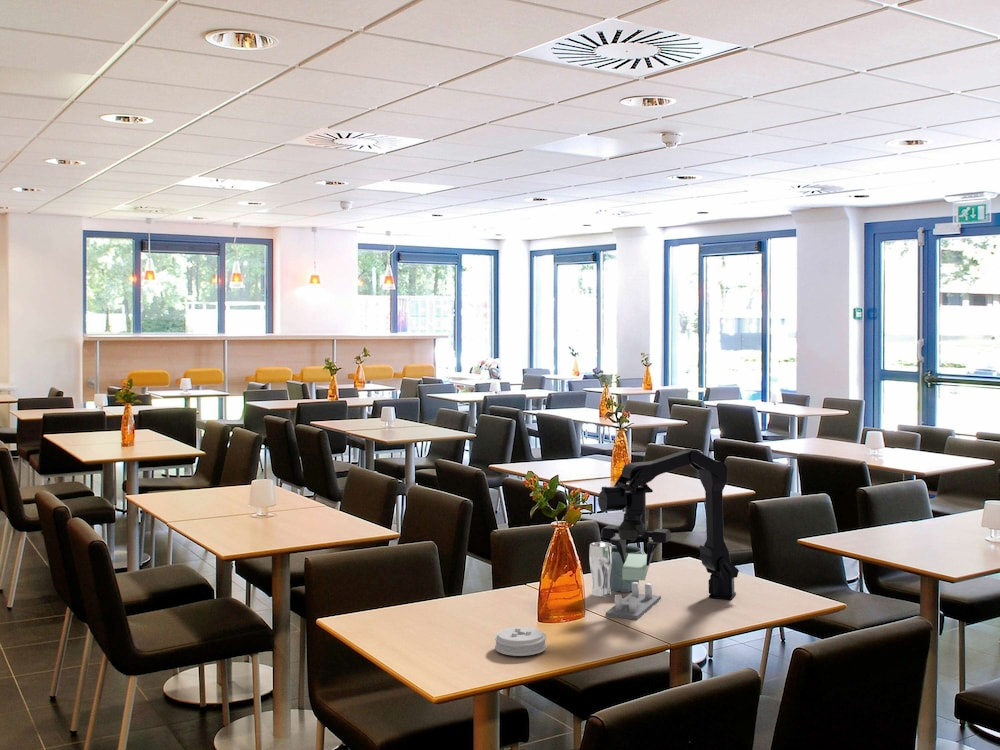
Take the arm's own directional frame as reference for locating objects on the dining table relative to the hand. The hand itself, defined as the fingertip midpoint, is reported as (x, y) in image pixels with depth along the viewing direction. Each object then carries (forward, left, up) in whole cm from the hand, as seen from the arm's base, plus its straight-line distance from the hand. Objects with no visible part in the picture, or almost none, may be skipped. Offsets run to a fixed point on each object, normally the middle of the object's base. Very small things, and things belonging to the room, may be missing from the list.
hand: (636, 564), depth 258 cm
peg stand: (+1, 0, -12) cm, 12 cm away
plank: (0, 0, -2) cm, 2 cm away
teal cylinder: (+10, -18, -13) cm, 24 cm away
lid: (+15, +44, -13) cm, 48 cm away
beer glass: (+14, -9, -13) cm, 21 cm away
